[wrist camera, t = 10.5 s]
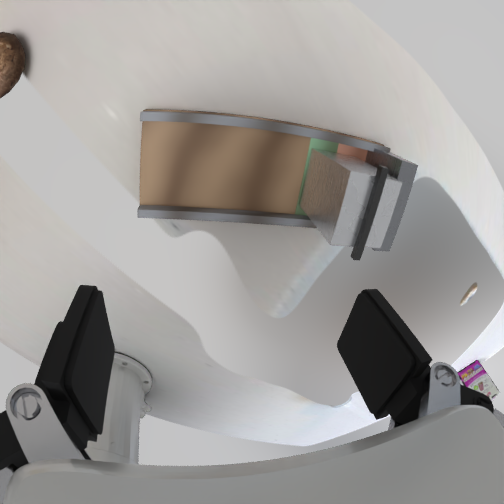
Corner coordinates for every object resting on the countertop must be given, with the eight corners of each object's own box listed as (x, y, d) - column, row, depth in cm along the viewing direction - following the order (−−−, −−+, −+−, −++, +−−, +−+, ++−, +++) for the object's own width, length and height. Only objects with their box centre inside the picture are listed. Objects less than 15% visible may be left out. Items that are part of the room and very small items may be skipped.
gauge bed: (378, 142, 28) (390, 147, 26) (356, 223, 33) (365, 233, 31) (145, 109, 23) (140, 110, 21) (142, 208, 27) (137, 218, 25)
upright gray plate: (383, 149, 27) (417, 165, 22) (362, 224, 31) (389, 251, 26) (368, 145, 26) (402, 160, 21) (347, 223, 31) (373, 250, 26)
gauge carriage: (358, 148, 26) (409, 174, 19) (340, 218, 30) (380, 261, 23) (313, 139, 25) (358, 161, 18) (297, 213, 29) (330, 259, 22)
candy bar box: (451, 380, 72) (472, 415, 58) (456, 373, 69) (478, 408, 55) (472, 366, 72) (494, 398, 58) (477, 358, 70) (500, 391, 56)
